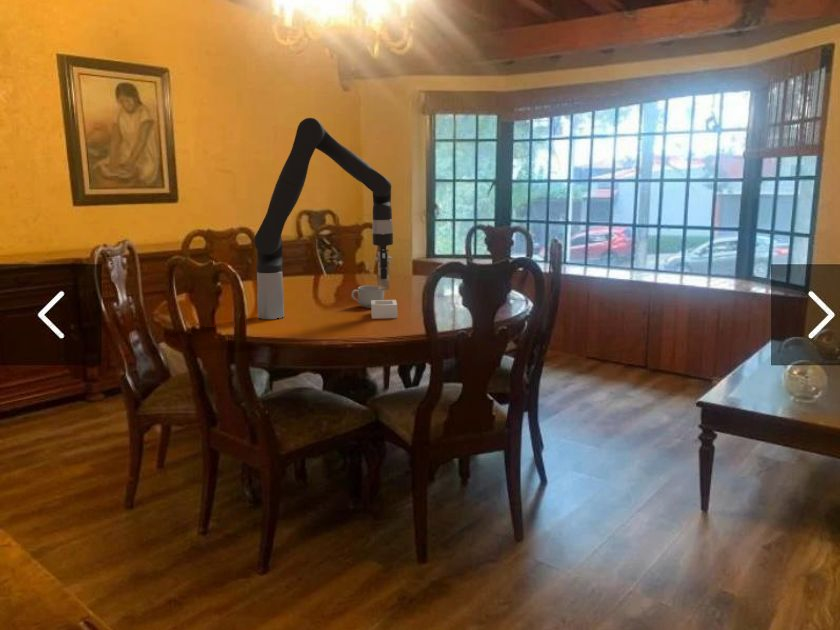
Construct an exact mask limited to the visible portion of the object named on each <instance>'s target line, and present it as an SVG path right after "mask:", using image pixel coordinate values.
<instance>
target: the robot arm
mask: <svg viewBox="0 0 840 630" xmlns="http://www.w3.org/2000/svg"><path fill="white" fill-rule="evenodd" d="M316 149H317V150H318V151H320V152H321V153H323V154H324V155H325V156H327V157H329V159H332V160H333V162H335V163H336V164H337V165H338V166H339V167H340V168H341V169H342V170H344V171H345V172H346V173H348V174H349V175H350V176H352V177H353V178H354V179H355V180H357V181H358V182H360V183H362V185H364V186H365V187H366V188H367V189H369V190H370V191H371V192H372V206H373V207H372V227H371V228H372V231H371V232H372V245H373V246H379V249H377V255H378V256H377V257H379V263H380V269H381V279H387V267H388V266H387V263H388V257H389V255H390V253H389V249H387V247H388V246H392V245H393V244H394V228H393V212H392V211H393V210H392V202H391V201H392V183H391V181H390V179H388V178H387V177H385V176H384V175H383V174H382V173H380V172H378V171H377V170H376V169H374V168H373V167H372V166H371V165H370V164H369V163H367V161H365V160H363V158H361V157H360V156H359V155H357V154H356V153H354V152H353V151H352V150H350V149H348V148H347V147H346V146H344V145H342V144H341V143H340V142H339V141H338V140H336V139H335V138H334V137H333V136H332V135H331V134H330V133H329V132H328V131H327V130H326V128H324V126H323V124H322V123H321V122H320V121H319V120H318V119H316V118H313V117H306V118H303V119H302V120H301V121H300V123H298V125H297V129H296V133H295V136H294V141H293V143H292V147H291V150H290V152H289V155H288V157H287V159H286V161H285V163H284V165H283V167H282V169H281V171H280V172H279V173H280V174H279V175H278V178H277V181H276V183H275V186H274V189H273V192H272V195H271V197H270V201H269V204H268V207H267V211H266V214H265V216H264V219H263V220H262V222H261V224H260V226H259V228H258V230H257V232H256V233H255V235H254V238H253V243H254V244H253V245H254V247H255V248H256V251H257V255H256V256H257V260H256V261H257V262H256V279H257V281H256V283H257V292H256V293H257V294H256V296H257V297H256V301H257V304H256V305H257V319H258V318H261V319H260V320H278V319H277V318H279V319H283V318H284V317H285V301H284V300H285V299H284V280H283V279H284V278H283V277H284V276H283V261H284V259H283V254H284V253H283V238H282V233H283V230H284V226H285V225H286V222H287V220H288V218H289V217H290V214H291V213H292V212H293V211H294V209H295V206H296V205H297V203H298V201H299V198H300V196H301V194H302V191H303V188H304V185H305V182H306V178H307V174H308V170H309V166H310V162H311V159H312V156H313V154H314V152H315V150H316ZM382 263H386V265H382ZM282 317H283V318H282Z"/></svg>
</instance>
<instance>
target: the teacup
mask: <svg viewBox="0 0 840 630" xmlns="http://www.w3.org/2000/svg"><path fill="white" fill-rule="evenodd" d="M355 293H357V298H356V297H355ZM350 296H351V298H352V299H353V300H354V301H356V302H357V303H358V304H359V305H360V306H362V307H363V308H366V309H371V300H385V299H384V297H385V290H379V287H378V285H361V286H358V287H357V289H353V290H352V291H351V295H350Z"/></svg>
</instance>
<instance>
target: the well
mask: <svg viewBox="0 0 840 630" xmlns="http://www.w3.org/2000/svg"><path fill="white" fill-rule="evenodd" d="M370 310H371V311H370V313H371V319H373V320H374V319H399V318H398V317H399V316H398V303H397V300H396V299H384V300H371V308H370Z"/></svg>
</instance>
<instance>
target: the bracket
mask: <svg viewBox="0 0 840 630" xmlns="http://www.w3.org/2000/svg"><path fill="white" fill-rule="evenodd" d="M392 259H393V258H392V256H388V263H387V266H388V267H387V279H381V269H380V263H379V257H378V256H375V257H374V260H375V261H374V262H375V263H377V273H378V274H377V275H378V276H377V279H378V283H377V284H378V285H377V286H378V287H379V290H384V291H390V263H392ZM382 265H386V263H382Z"/></svg>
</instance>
